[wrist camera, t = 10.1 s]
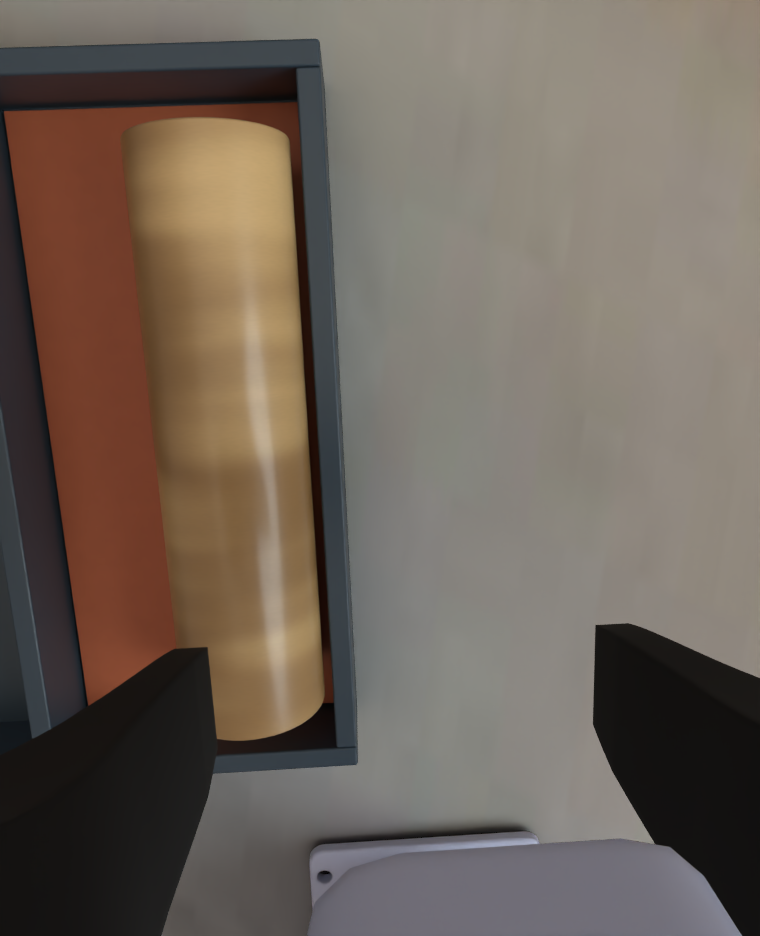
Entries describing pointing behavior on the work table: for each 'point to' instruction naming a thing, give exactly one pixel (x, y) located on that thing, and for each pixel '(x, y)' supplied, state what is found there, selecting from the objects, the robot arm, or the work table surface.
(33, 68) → the tray
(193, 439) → the rolling pin
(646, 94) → the work table surface
